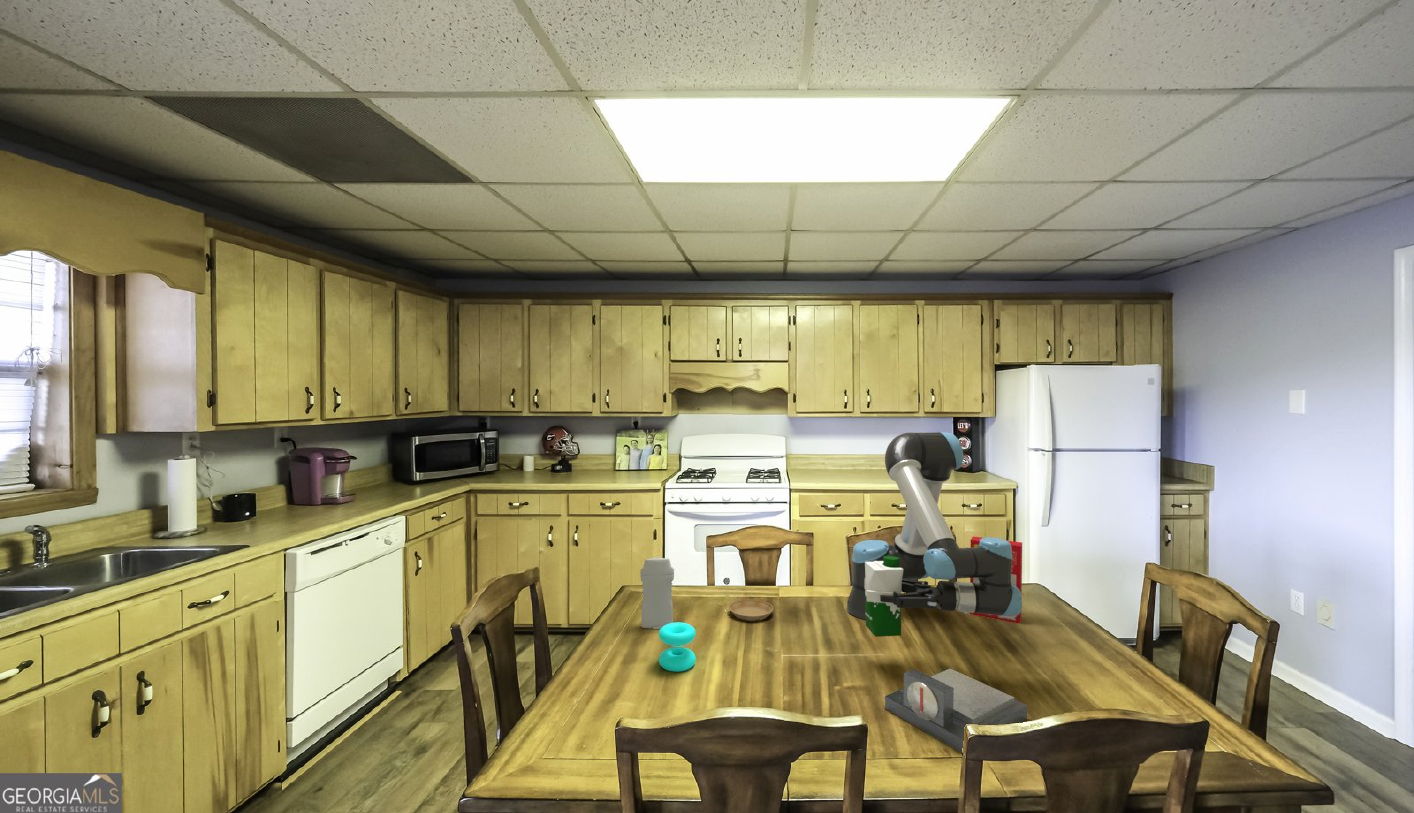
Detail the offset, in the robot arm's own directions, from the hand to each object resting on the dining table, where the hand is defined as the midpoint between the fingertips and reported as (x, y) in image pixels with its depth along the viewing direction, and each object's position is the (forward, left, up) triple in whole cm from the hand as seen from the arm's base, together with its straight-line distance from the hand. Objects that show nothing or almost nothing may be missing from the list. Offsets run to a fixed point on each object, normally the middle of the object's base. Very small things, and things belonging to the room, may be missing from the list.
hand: (865, 589), depth 153 cm
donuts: (-27, -44, -20) cm, 55 cm away
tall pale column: (-52, -37, -20) cm, 67 cm away
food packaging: (+1, +61, -20) cm, 65 cm away
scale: (+28, -2, -20) cm, 34 cm away
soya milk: (+3, +3, -11) cm, 12 cm away
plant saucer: (-44, -6, -21) cm, 49 cm away
